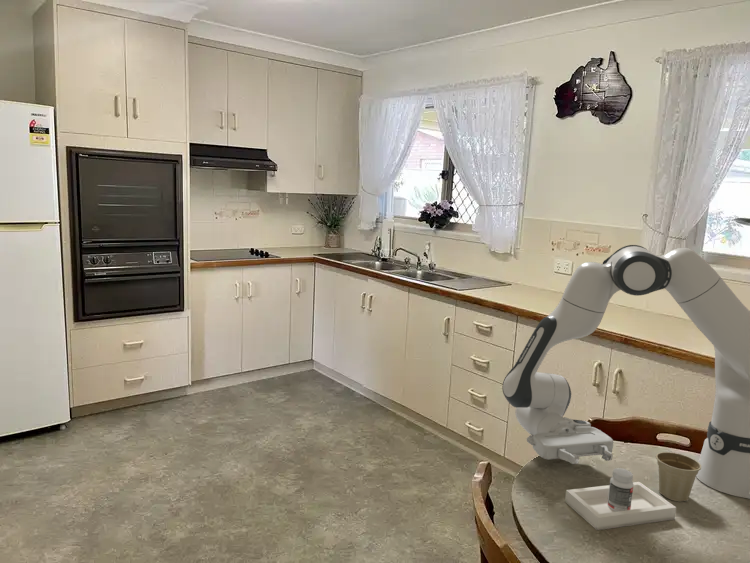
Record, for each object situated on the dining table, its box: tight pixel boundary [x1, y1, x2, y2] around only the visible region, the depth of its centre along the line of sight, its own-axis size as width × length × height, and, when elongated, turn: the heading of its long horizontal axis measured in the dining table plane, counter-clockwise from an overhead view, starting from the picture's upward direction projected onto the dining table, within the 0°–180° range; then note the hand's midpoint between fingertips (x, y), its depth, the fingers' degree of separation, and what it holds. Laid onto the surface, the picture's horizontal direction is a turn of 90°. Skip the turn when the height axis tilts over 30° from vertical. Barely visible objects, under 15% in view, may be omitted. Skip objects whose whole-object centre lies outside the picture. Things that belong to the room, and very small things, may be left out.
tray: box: [564, 481, 677, 531], centre depth 123 cm, size 20×11×3 cm, turn 106°
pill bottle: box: [607, 467, 634, 512], centre depth 122 cm, size 5×5×8 cm
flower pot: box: [655, 451, 701, 503], centre depth 130 cm, size 9×9×9 cm
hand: (593, 459), depth 131 cm, fingers open, 8 cm apart
